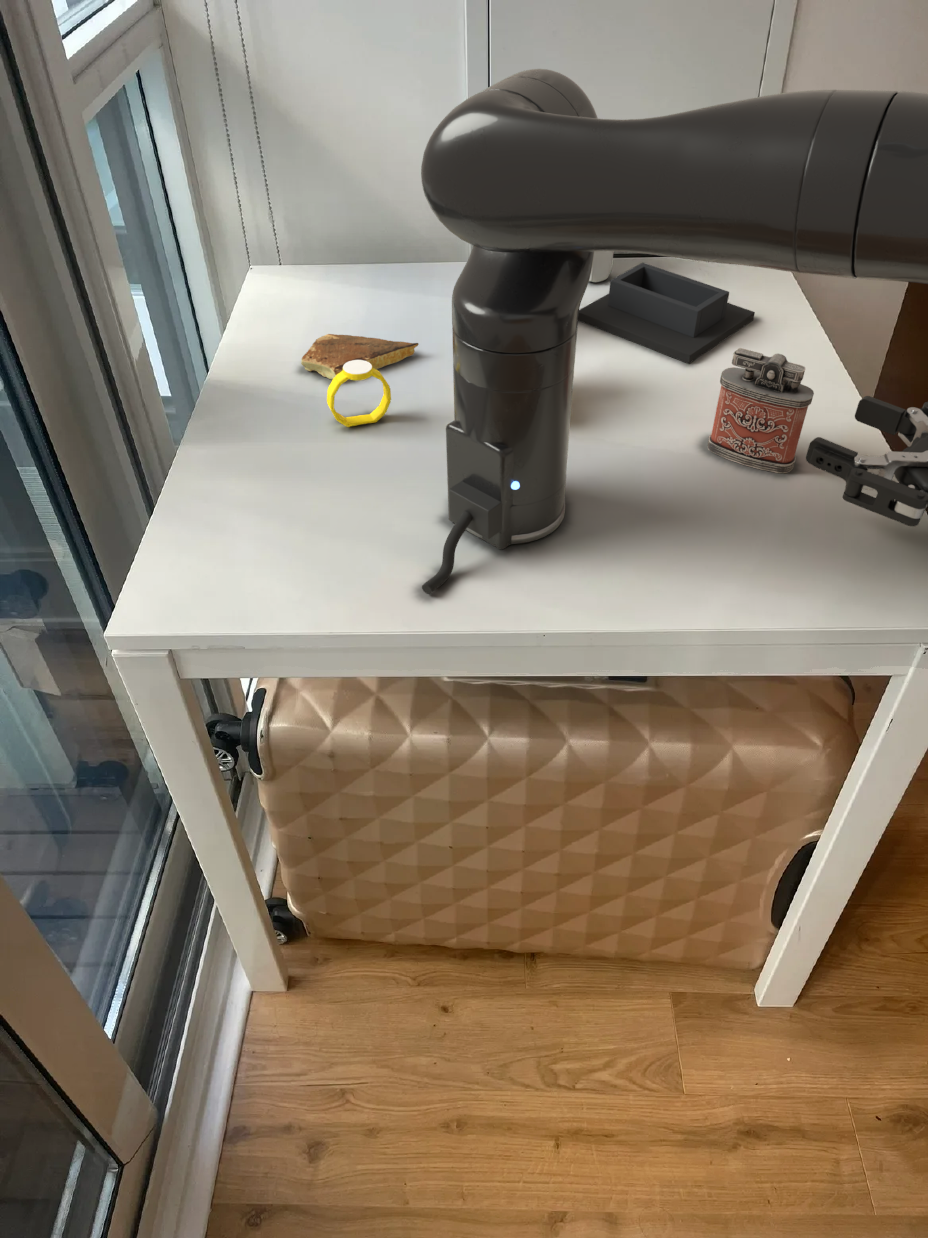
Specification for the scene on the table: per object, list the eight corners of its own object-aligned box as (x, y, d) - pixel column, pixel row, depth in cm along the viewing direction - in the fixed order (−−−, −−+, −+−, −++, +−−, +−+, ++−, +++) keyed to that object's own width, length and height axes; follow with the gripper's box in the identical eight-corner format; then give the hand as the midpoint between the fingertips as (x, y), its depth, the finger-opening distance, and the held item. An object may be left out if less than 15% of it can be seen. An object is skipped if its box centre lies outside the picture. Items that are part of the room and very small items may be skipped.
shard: (419, 355, 101) (418, 340, 100) (397, 391, 96) (396, 376, 94) (324, 344, 103) (322, 328, 102) (298, 379, 98) (295, 363, 97)
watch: (335, 435, 90) (328, 380, 86) (327, 421, 92) (320, 366, 88) (395, 422, 92) (390, 367, 87) (386, 408, 93) (382, 353, 89)
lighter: (798, 459, 86) (826, 360, 79) (786, 478, 84) (814, 377, 77) (715, 434, 89) (734, 336, 82) (701, 451, 87) (720, 353, 80)
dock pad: (688, 363, 99) (694, 328, 96) (575, 319, 106) (578, 285, 104) (753, 320, 106) (760, 285, 103) (642, 281, 113) (646, 248, 110)
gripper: (1087, 425, 72) (886, 354, 80) (1017, 509, 65) (803, 423, 73) (1046, 503, 78) (861, 430, 86) (977, 590, 70) (781, 501, 78)
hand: (834, 427), depth 79 cm, fingers open, 8 cm apart
